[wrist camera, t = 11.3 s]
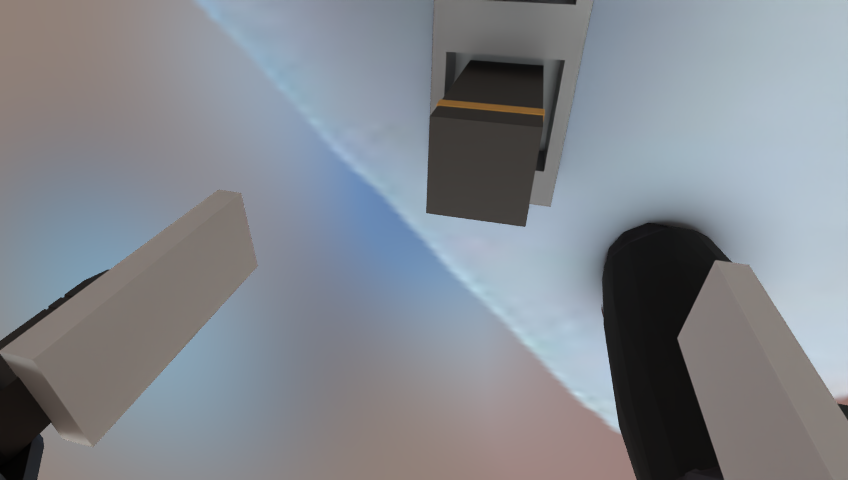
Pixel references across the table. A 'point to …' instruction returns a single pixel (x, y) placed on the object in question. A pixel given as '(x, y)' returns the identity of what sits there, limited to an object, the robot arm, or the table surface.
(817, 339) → the table surface
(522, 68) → the plug
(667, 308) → the portable speaker
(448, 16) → the socket strip
